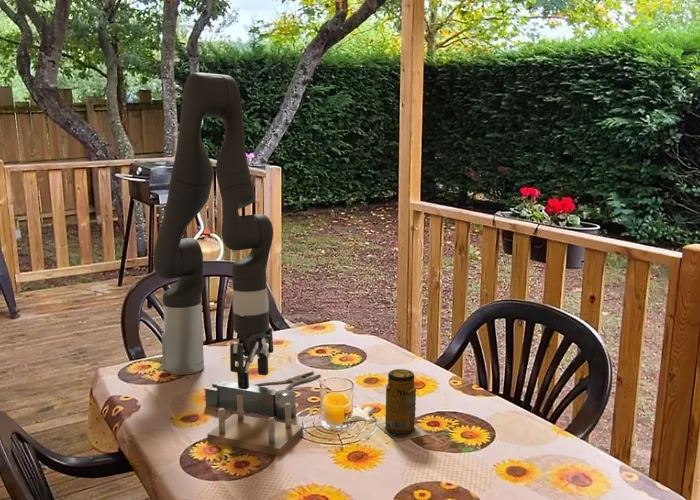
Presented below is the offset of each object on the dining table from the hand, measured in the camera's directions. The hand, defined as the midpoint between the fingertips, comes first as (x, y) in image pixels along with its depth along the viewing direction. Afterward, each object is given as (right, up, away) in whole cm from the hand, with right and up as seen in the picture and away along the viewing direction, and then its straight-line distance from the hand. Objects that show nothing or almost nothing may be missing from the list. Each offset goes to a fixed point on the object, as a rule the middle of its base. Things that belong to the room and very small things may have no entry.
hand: (253, 381), depth 147 cm
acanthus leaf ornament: (+23, -8, -1) cm, 24 cm away
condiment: (+31, -9, -8) cm, 33 cm away
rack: (+2, -9, -11) cm, 14 cm away
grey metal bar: (-1, -6, +2) cm, 7 cm away
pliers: (+4, -4, +16) cm, 17 cm away
